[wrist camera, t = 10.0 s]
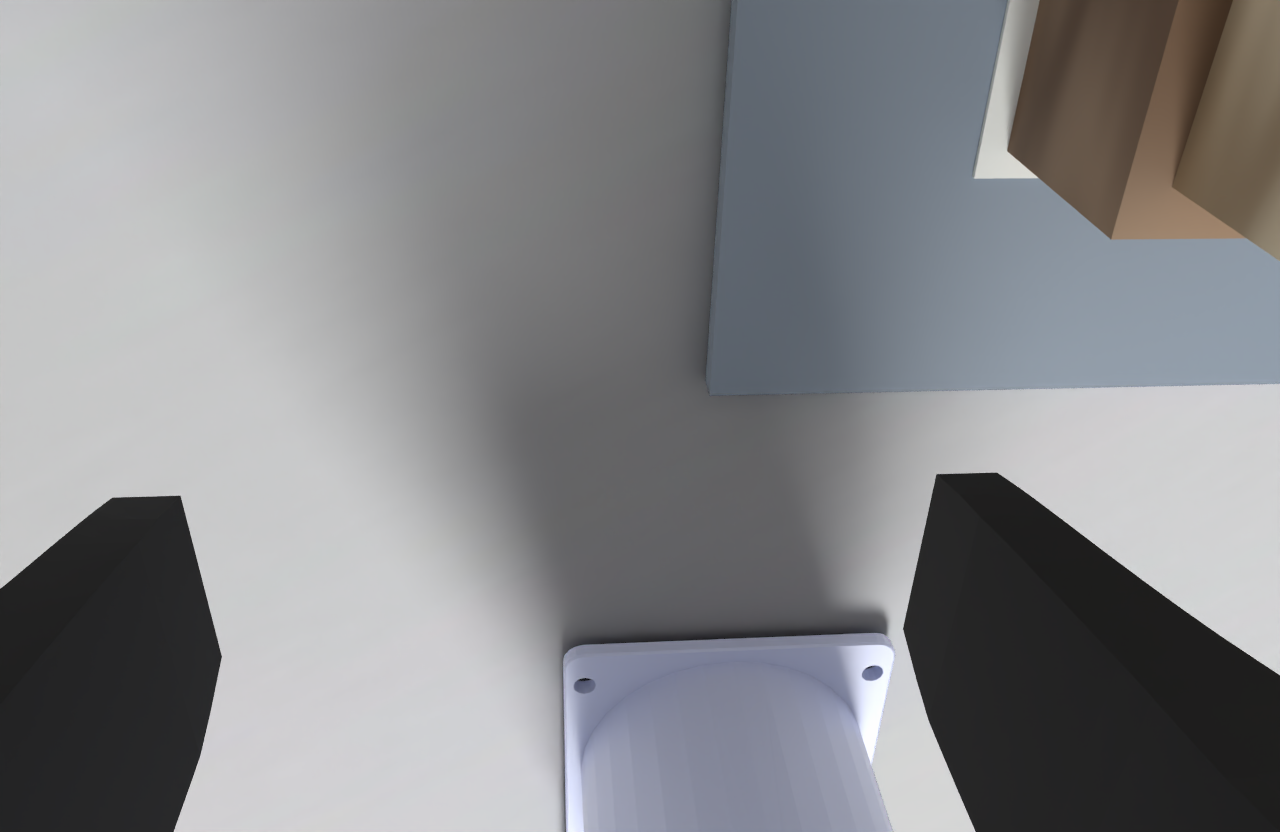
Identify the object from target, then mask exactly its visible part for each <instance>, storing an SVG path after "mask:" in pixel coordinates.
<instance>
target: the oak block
mask: <svg viewBox="0 0 1280 832" xmlns="http://www.w3.org/2000/svg"><path fill="white" fill-rule="evenodd" d="M1172 188H1174V189H1175V190H1177V191H1178V192H1180V193H1181V194H1183V195H1184V196H1185V197H1187V198H1188V199H1190V200H1191V201H1193V202H1194V203H1196V204H1197V205H1199V206H1200V207H1201V208H1203V209H1204V210H1206V211H1207V212H1209V213H1210V214H1212V215H1213V216H1215V217H1216V218H1217V219H1219V220H1220V221H1222V222H1223V223H1225V224H1226V225H1228V226H1229V227H1231V228H1232V229H1233V230H1235V231H1236V232H1238V233H1239V234H1241V235H1242V236H1244V237H1245V238H1247V239H1248V240H1250V241H1251V242H1252V243H1254V244H1255V245H1257V246H1258V247H1260V248H1261V249H1263V250H1264V251H1266V252H1267V253H1268V254H1270V255H1271V256H1273V257H1274V258H1276V259H1277V260H1279V261H1280V0H1233V2H1232V5H1231V8H1230V11H1229V14H1228V17H1227V20H1226V23H1225V26H1224V29H1223V32H1222V35H1221V39H1220V42H1219V45H1218V48H1217V51H1216V54H1215V57H1214V60H1213V63H1212V66H1211V69H1210V72H1209V75H1208V78H1207V81H1206V85H1205V88H1204V91H1203V94H1202V97H1201V100H1200V103H1199V106H1198V109H1197V112H1196V115H1195V118H1194V121H1193V124H1192V127H1191V130H1190V134H1189V137H1188V140H1187V143H1186V146H1185V149H1184V152H1183V155H1182V158H1181V161H1180V164H1179V167H1178V170H1177V173H1176V176H1175V180H1174V183H1173V186H1172Z"/></svg>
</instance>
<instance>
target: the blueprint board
mask: <svg viewBox="0 0 1280 832" xmlns="http://www.w3.org/2000/svg"><path fill="white" fill-rule="evenodd" d="M1039 1H1040V0H732V1H731V15H730V30H729V44H728V59H727V74H726V88H725V103H724V117H723V132H722V146H721V161H720V176H719V190H718V205H717V219H716V234H715V248H714V263H713V278H712V292H711V307H710V321H709V336H708V350H707V365H706V379H705V381H706V385H707V388H708V392H709V396H721V395H769V394H816V393H863V392H911V391H958V390H1005V389H1052V388H1100V387H1147V386H1194V385H1242V384H1280V261H1279V260H1277V259H1276V258H1274V257H1273V256H1271V255H1270V254H1268V253H1267V252H1266V251H1264V250H1263V249H1261V248H1260V247H1258V246H1257V245H1255V244H1254V243H1252V242H1251V241H1250V240H1248V239H1247V238H1236V239H1122V240H1111V239H1110V238H1109V237H1107V236H1106V235H1105V234H1104V233H1103V232H1102V231H1100V230H1099V229H1098V228H1097V227H1096V226H1094V225H1093V224H1092V223H1091V222H1090V221H1089V220H1087V219H1086V218H1085V217H1084V216H1083V215H1082V214H1080V213H1079V212H1078V211H1077V210H1076V209H1074V208H1073V207H1072V206H1071V205H1070V204H1069V203H1067V202H1066V201H1065V200H1064V199H1063V198H1062V197H1060V196H1059V195H1058V194H1057V193H1056V192H1054V191H1053V190H1052V189H1051V188H1050V187H1049V186H1047V185H1046V184H1045V183H1044V182H1043V181H1042V180H1040V179H1039V178H1038V177H1037V176H1036V175H1034V174H1033V173H1032V172H1031V171H1030V170H1029V169H1027V168H1026V167H1025V166H1024V165H1023V164H1022V163H1020V162H1019V161H1018V160H1017V159H1016V158H1014V157H1013V156H1012V155H1011V154H1010V153H1009V152H1007V149H1008V145H1009V140H1010V135H1011V131H1012V126H1013V121H1014V117H1015V112H1016V108H1017V103H1018V98H1019V94H1020V89H1021V84H1022V80H1023V75H1024V71H1025V66H1026V61H1027V57H1028V52H1029V47H1030V43H1031V38H1032V34H1033V29H1034V24H1035V20H1036V15H1037V11H1038V6H1039Z"/></svg>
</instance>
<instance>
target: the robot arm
mask: <svg viewBox="0 0 1280 832" xmlns="http://www.w3.org/2000/svg"><path fill="white" fill-rule="evenodd" d="M903 630H904V634H905V637H906V641H907V645H908V649H909V653H910V656H911V660H912V664H913V668H914V671H915V675H916V679H917V682H918V686H919V689H920V693H921V696H922V699H923V703H924V706H925V710H926V713H927V716H928V720H929V722H930V725H931V727H932V730H933V732H934V734H935V737H936V739H937V742H938V744H939V747H940V749H941V751H942V754H943V756H944V758H945V761H946V763H947V766H948V768H949V770H950V773H951V775H952V777H953V780H954V782H955V785H956V787H957V789H958V792H959V794H960V796H961V799H962V801H963V803H964V806H965V808H966V810H967V813H968V815H969V817H970V819H971V822H972V824H973V826H974V829H975V831H976V832H1280V675H1278V674H1277V673H1275V672H1274V671H1272V670H1271V669H1269V668H1268V667H1266V666H1265V665H1263V664H1262V663H1260V662H1259V661H1257V660H1256V659H1254V658H1253V657H1251V656H1250V655H1248V654H1247V653H1245V652H1244V651H1242V650H1241V649H1239V648H1238V647H1236V646H1235V645H1233V644H1232V643H1230V642H1229V641H1227V640H1226V639H1224V638H1223V637H1221V636H1220V635H1218V634H1217V633H1215V632H1214V631H1212V630H1211V629H1210V628H1208V627H1207V626H1205V625H1204V624H1202V623H1201V622H1200V621H1198V620H1197V619H1195V618H1194V617H1192V616H1191V615H1190V614H1188V613H1187V612H1185V611H1184V610H1183V609H1181V608H1180V607H1178V606H1177V605H1176V604H1174V603H1173V602H1171V601H1170V600H1169V599H1167V598H1166V597H1165V596H1163V595H1162V594H1160V593H1159V592H1158V591H1156V590H1155V589H1154V588H1152V587H1151V586H1150V585H1148V584H1147V583H1145V582H1144V581H1143V580H1141V579H1140V578H1139V577H1137V576H1136V575H1135V574H1133V573H1132V572H1131V571H1129V570H1128V569H1127V568H1125V567H1124V566H1123V565H1121V564H1120V563H1119V562H1117V561H1116V560H1115V559H1113V558H1112V557H1111V556H1109V555H1108V554H1107V553H1105V552H1104V551H1103V550H1101V549H1100V548H1099V547H1097V546H1096V545H1095V544H1093V543H1092V542H1091V541H1089V540H1088V539H1087V538H1085V537H1084V536H1083V535H1081V534H1080V533H1079V532H1078V531H1076V530H1075V529H1074V528H1072V527H1071V526H1070V525H1068V524H1067V523H1066V522H1064V521H1063V520H1062V519H1060V518H1059V517H1058V516H1056V515H1055V514H1054V513H1052V512H1051V511H1050V510H1048V509H1047V508H1046V507H1044V506H1043V505H1042V504H1040V503H1039V502H1038V501H1036V500H1035V499H1034V498H1032V497H1031V496H1030V495H1028V494H1027V493H1026V492H1024V491H1023V490H1021V489H1020V488H1019V487H1017V486H1016V485H1014V484H1013V483H1011V482H1010V481H1008V480H1007V479H1005V478H1004V477H1002V476H1001V475H999V474H998V473H969V474H937V475H936V479H935V484H934V489H933V493H932V498H931V502H930V507H929V512H928V516H927V521H926V526H925V530H924V535H923V539H922V544H921V549H920V553H919V558H918V562H917V567H916V572H915V576H914V581H913V586H912V590H911V595H910V599H909V604H908V609H907V613H906V618H905V622H904V627H903ZM221 658H222V656H221V652H220V648H219V644H218V640H217V636H216V632H215V629H214V625H213V621H212V617H211V613H210V609H209V605H208V601H207V597H206V594H205V590H204V586H203V582H202V578H201V574H200V570H199V566H198V563H197V559H196V555H195V551H194V547H193V543H192V539H191V535H190V531H189V527H188V524H187V520H186V516H185V512H184V508H183V504H182V500H181V496H158V497H122V498H111V499H110V500H109V501H107V502H106V503H105V504H103V505H102V506H101V507H99V508H98V509H97V510H95V511H94V512H93V513H92V514H90V515H89V516H88V517H87V518H85V519H84V520H83V521H82V522H80V523H79V524H78V525H77V526H76V527H74V528H73V529H72V530H71V531H69V532H68V533H67V534H66V535H65V536H63V537H62V538H61V539H60V540H59V541H57V542H56V543H55V544H54V545H53V546H51V547H50V548H49V549H48V550H47V551H45V552H44V553H43V554H42V555H41V556H39V557H38V558H37V559H36V560H35V561H33V562H32V563H31V564H30V565H29V566H27V567H26V568H25V569H24V570H23V571H21V572H20V573H19V574H18V575H17V576H16V577H14V578H13V579H12V580H11V581H10V582H8V583H7V584H6V585H5V586H3V587H2V588H1V589H0V832H174V829H175V826H176V823H177V820H178V817H179V815H180V812H181V809H182V806H183V803H184V801H185V798H186V795H187V792H188V789H189V787H190V784H191V781H192V778H193V775H194V772H195V769H196V766H197V763H198V761H199V758H200V754H201V750H202V746H203V742H204V737H205V733H206V729H207V724H208V720H209V716H210V711H211V707H212V702H213V697H214V692H215V687H216V682H217V677H218V672H219V667H220V662H221ZM894 659H895V650H894V647H893V645H892V642H891V640H890V639H889V638H888V637H887V636H886V635H884V634H880V633H859V634H834V635H810V636H785V637H761V638H737V639H712V640H688V641H663V642H639V643H615V644H590V645H580V646H576V647H574V648H572V649H570V650H569V651H568V652H567V653H566V654H565V655H564V659H563V685H564V742H565V798H566V832H893V829H892V826H891V823H890V820H889V817H888V814H887V811H886V808H885V805H884V802H883V799H882V796H881V793H880V790H879V787H878V784H877V781H876V778H875V775H874V772H873V769H872V761H873V757H874V752H875V747H876V743H877V738H878V733H879V729H880V724H881V719H882V715H883V710H884V705H885V701H886V696H887V691H888V687H889V682H890V677H891V673H892V668H893V663H894ZM873 665H876V666H874V667H873V668H869V669H866V668H867V667H869V666H873ZM582 678H589V679H591V680H589V681H578V680H579V679H582Z"/></svg>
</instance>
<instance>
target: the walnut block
mask: <svg viewBox="0 0 1280 832" xmlns="http://www.w3.org/2000/svg"><path fill="white" fill-rule="evenodd" d="M1232 2H1233V0H1040V1H1039V6H1038V11H1037V15H1036V20H1035V24H1034V29H1033V34H1032V38H1031V43H1030V47H1029V52H1028V57H1027V61H1026V66H1025V71H1024V75H1023V80H1022V84H1021V89H1020V94H1019V98H1018V103H1017V108H1016V112H1015V117H1014V121H1013V126H1012V131H1011V135H1010V140H1009V145H1008V149H1007V152H1009V153H1010V154H1011V155H1012V156H1013V157H1014V158H1016V159H1017V160H1018V161H1019V162H1020V163H1022V164H1023V165H1024V166H1025V167H1026V168H1027V169H1029V170H1030V171H1031V172H1032V173H1033V174H1034V175H1036V176H1037V177H1038V178H1039V179H1040V180H1042V181H1043V182H1044V183H1045V184H1046V185H1047V186H1049V187H1050V188H1051V189H1052V190H1053V191H1054V192H1056V193H1057V194H1058V195H1059V196H1060V197H1062V198H1063V199H1064V200H1065V201H1066V202H1067V203H1069V204H1070V205H1071V206H1072V207H1073V208H1074V209H1076V210H1077V211H1078V212H1079V213H1080V214H1082V215H1083V216H1084V217H1085V218H1086V219H1087V220H1089V221H1090V222H1091V223H1092V224H1093V225H1094V226H1096V227H1097V228H1098V229H1099V230H1100V231H1102V232H1103V233H1104V234H1105V235H1106V236H1107V237H1109V238H1110V239H1111V240H1122V239H1236V238H1245V237H1244V236H1242V235H1241V234H1239V233H1238V232H1236V231H1235V230H1233V229H1232V228H1231V227H1229V226H1228V225H1226V224H1225V223H1223V222H1222V221H1220V220H1219V219H1217V218H1216V217H1215V216H1213V215H1212V214H1210V213H1209V212H1207V211H1206V210H1204V209H1203V208H1201V207H1200V206H1199V205H1197V204H1196V203H1194V202H1193V201H1191V200H1190V199H1188V198H1187V197H1185V196H1184V195H1183V194H1181V193H1180V192H1178V191H1177V190H1175V189H1174V188H1172V186H1173V183H1174V180H1175V176H1176V173H1177V170H1178V167H1179V164H1180V161H1181V158H1182V155H1183V152H1184V149H1185V146H1186V143H1187V140H1188V137H1189V134H1190V130H1191V127H1192V124H1193V121H1194V118H1195V115H1196V112H1197V109H1198V106H1199V103H1200V100H1201V97H1202V94H1203V91H1204V88H1205V85H1206V81H1207V78H1208V75H1209V72H1210V69H1211V66H1212V63H1213V60H1214V57H1215V54H1216V51H1217V48H1218V45H1219V42H1220V39H1221V35H1222V32H1223V29H1224V26H1225V23H1226V20H1227V17H1228V14H1229V11H1230V8H1231V5H1232Z"/></svg>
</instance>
